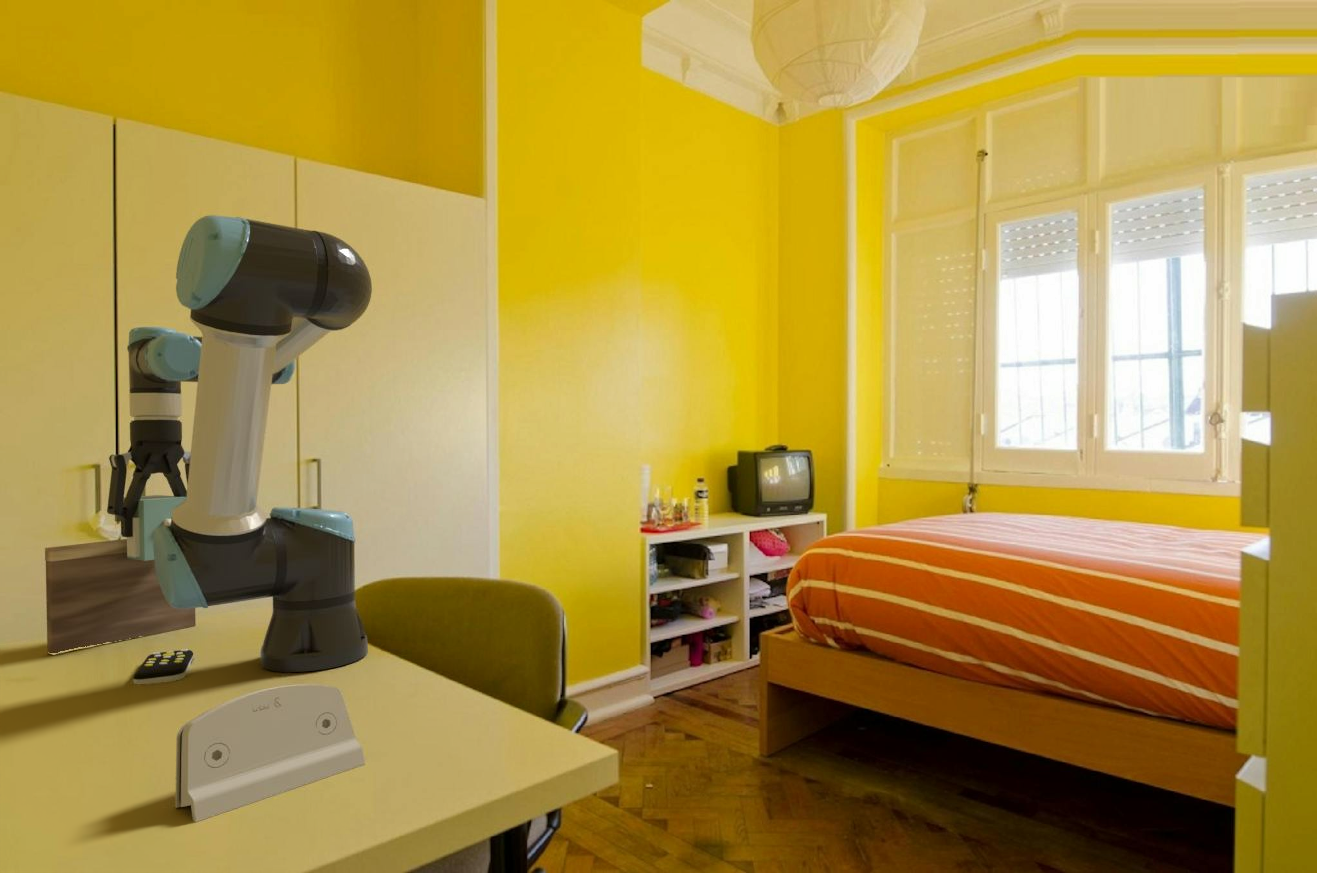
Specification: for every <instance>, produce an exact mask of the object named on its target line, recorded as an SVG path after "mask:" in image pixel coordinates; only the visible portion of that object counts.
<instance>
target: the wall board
mask: <svg viewBox="0 0 1317 873" xmlns="http://www.w3.org/2000/svg"><path fill="white" fill-rule="evenodd" d="M44 561H45V594H46V596H45V597H46V644H47V645H46V649H47V652H49V653H58V652H60V651H65V650H69V649H74V648H78V647H85V646H86V647H87V646H90V645H97V644H103V643H106V642H115V641H119V640H126V639H129V638H135V639H137V638H136V637H139V636H145V637H147V636H146V635H150V636H153V635H158V634H157V633H159V634H163V633H168V631H169V632H174V631H177V629H178V630H183V629H187V628H186V627H188V628H192V626H193V627H196V608H190V609H176V608H174V607H172V606H171V605H170V604H169V603H168V602H167V601H166V599H165V597H164V595H163V592H162V590H161V587H160V583H159V580H158V576H157V571H156V566H155V560H147V561H143V560H136V559H130V558H127V538H124V539H123V538H121V539H114V540H105V541H97V542H86V543H77V544H68V545H60V546H52V547H44ZM126 641H127V640H126Z"/></svg>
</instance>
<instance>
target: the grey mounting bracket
mask: <svg viewBox="0 0 1317 873" xmlns="http://www.w3.org/2000/svg"><path fill="white" fill-rule="evenodd" d="M175 742H176V744H175V745H176V746H175V747H176V748H175V749H176V750H175V751H176V752H175V755H176V756H175V804H174V805H175V806H174V807H175V808H176V809H177V808H183V807H184V808H185V807H188V806H189V807H190V810H191V817H192V822H195V823H198V822H200V821H202V820H203V821H204V820H207V819H210V818H212V817H215V816H217V815H220V814H223V813H226V812H230V811H232V810H235V809H238V808H242V807H244V806H247V805H250V804H252V803H256V802H259V801H262V800H265V799H268V798H270V797H273V796H276V795H279V794H283V793H286V792H288V791H291V790H294V789H297V788H301V787H302V786H306V785H309V784H311V783H314V782H317V781H321V780H323V779H326V778H329V777H332V776H335V775H338V774H340V773H341V774H342V773H344V772H346V771H349V770H352V769H355V768H359V767H361V766H364V765H366V763H365V756H364V751H363V747H362V745H361V744H360V742H359V741H358V739H357V738H356V734H355V732H354V728H353V725H352V722H351V718H350V716H349V713H348V709H347V706H346V702H345V699H344V696H343V693H342V691H341V689H339V688H338V687H335V686H332V685H321V684H290V685H289V684H288V685H282V686H281V685H280V686H274V687H270V688H264V689H263V688H262V689H260V690H257V691H253V692H250V693H246V694H243V695H241V696H238V697H235V698H231V699H230V700H228V701H225V702H222V703H220V704H218V705H216V706H214V707H212V708H210V709H209V710H207V711H204V712H202V713H201V714H199V715H198V716H195V717H194V718H193V719H191V720H190V721H188V722H186V723H185V724H183V725H182V726H181V728H180V729H179V731H178V732H177V734H176V741H175Z"/></svg>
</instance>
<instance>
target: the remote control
mask: <svg viewBox="0 0 1317 873" xmlns="http://www.w3.org/2000/svg"><path fill="white" fill-rule="evenodd" d="M194 659H195V658H194V652H193V650H191V649H188V648H183V649H180V650H172V651H171V650H170V651H161V652H159V651H155V652H153V653H152V654H149V655H148V656H147V657H146V658H145V659H144V661H143V663H142V664H141V665H140V667H138V669H137V670H136V672H135V674H134V675H133V678H132V679H133V684H134V683H135V684H147V685H151V684H150V683H155V684H161V682H163V683H169V682H176V680H177V681H179V680H183V679H184V678H185V676H186V674H187V673H188V671H189V669H190V666H191V665H192V664H193V662H194ZM135 684H134V685H135Z"/></svg>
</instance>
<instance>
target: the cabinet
mask: <svg viewBox="0 0 1317 873" xmlns="http://www.w3.org/2000/svg"><path fill="white" fill-rule="evenodd" d="M125 497H126V496H124V500H125ZM124 500H123V502H124ZM185 500H186V497H176V496H174V495H162V494H156V495H142V496H141V498H140V500H139V503H138V506H137V509H136V511H135V514H134V516H133V517H138V518H139V533H140V557H131V556H127V558H130V559H136V560H143V561H147V560H154V552H153V535H154V533H155V532H154V531H155V530H156V529H157V528H159V527H162V526H164V525H166V526H170V525H171V516H172V512H173V509H174V508H175V507H176V506H178V505H179V504H181V503H182V502H184V501H185ZM114 522H121V519H120V517H119V516H116V515H114Z"/></svg>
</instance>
